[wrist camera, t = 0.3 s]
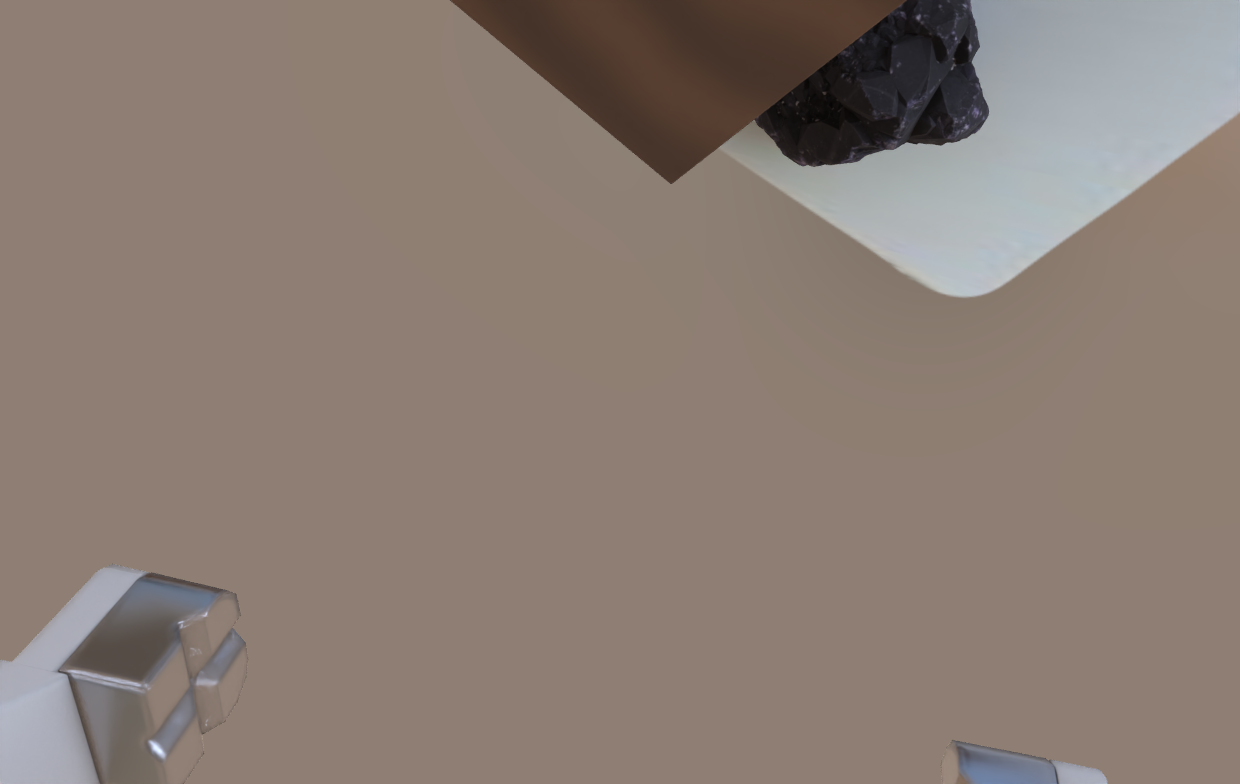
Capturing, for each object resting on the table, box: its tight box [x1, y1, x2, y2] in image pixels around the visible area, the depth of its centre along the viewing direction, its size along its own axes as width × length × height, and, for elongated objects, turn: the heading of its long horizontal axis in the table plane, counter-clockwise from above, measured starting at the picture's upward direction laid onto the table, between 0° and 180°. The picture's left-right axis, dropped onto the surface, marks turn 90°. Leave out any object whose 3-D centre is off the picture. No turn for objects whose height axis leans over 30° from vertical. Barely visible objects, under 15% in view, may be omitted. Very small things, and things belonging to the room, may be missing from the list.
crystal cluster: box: [755, 0, 989, 167], centre depth 59 cm, size 13×14×10 cm
